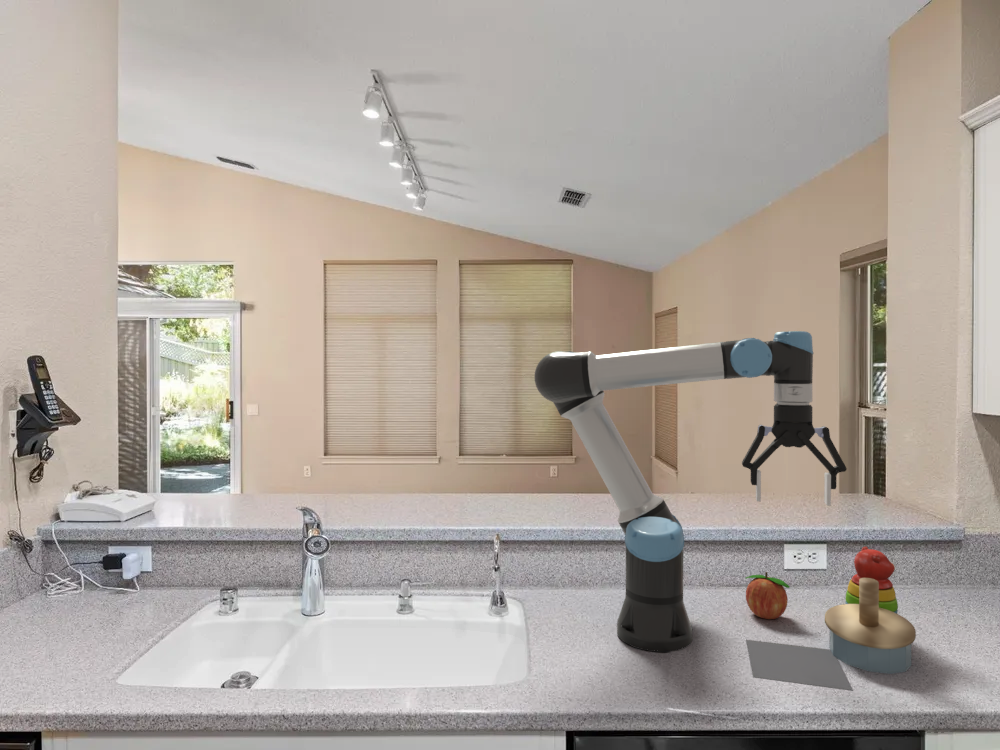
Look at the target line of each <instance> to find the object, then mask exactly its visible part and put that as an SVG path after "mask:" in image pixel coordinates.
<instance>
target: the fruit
mask: <svg viewBox="0 0 1000 750" xmlns="http://www.w3.org/2000/svg"><path fill="white" fill-rule="evenodd" d="M745 579H752V580H751V581H750V582H749V583H748V585H747V587H746V590H745V601H746V604H747V605H748V608H749V610H750V611H751V612H752V614H754V615H755V616H756V617H758V618H760V619H765V620H775V619H778V618H780V617H781V616H782V615H784V613H785V611H786V609H787V607H788V600H789V599H788V594H787V590H786V589H785V588H787V589H790V588H791V587H790V585H789V584H788V583H786V582H785V581H784V580H782V579H779V578H777V577H771V576H768V572H767V571H765V575H764V574H753V575H748V576H746V577H745Z"/></svg>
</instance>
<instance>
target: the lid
mask: <svg viewBox="0 0 1000 750" xmlns="http://www.w3.org/2000/svg"><path fill="white" fill-rule="evenodd" d="M824 613H825V614H824V623H825V625H826V627H827V629H828V630H829V631H830V630H831V631H832V632H833V633H834V634H836V635H838V636H839V637H841V638H843V639H845V640H847V641H850V642H852V643H855V644H859V645H862V646H867V647H872V648H880V649H896V648H902V647H906V646H908V645H910V644H911V645H912V644H913V643H914V642H915V640H916V639H917V638H916V634H917V631H916V630H917V629H916V628H915V626H914V625H913V624H912V622H911V621H910V620H909V619H907V618H906V617H904V616H902V615H901V614H898V613H897V614H896V613H894V612H892V611H889V610H886V609H883V608H879V582H878V581H877V580H875V579H872V578H861V579H859V604H846V603H845V604H838V605H835V606H832V607H830V608H828V609H827V610H826V611H825V612H824Z"/></svg>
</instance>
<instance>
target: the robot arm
mask: <svg viewBox="0 0 1000 750" xmlns="http://www.w3.org/2000/svg"><path fill="white" fill-rule="evenodd" d="M813 347H814V346H813V336H812V334H811V333H810V332H808V331H802V330H801V331H800V330H799V331H798V330H797V331H795V330H794V331H789V330H788V331H777V332H775V333H774V334H773V340H767V341H763V340H762V339H759V338H756V337H747V338H742V339H736V340H727V341H719V342H710V343H700V344H690V345H689V344H688V345H682V346H673V347H665V348H663V347H662V348H654V349H644V350H635V351H625V352H617V353H615V352H614V353H608V354H606V353H605V354H599V355H597V354H595V353H594V352H593V351H582V352H574V351H563V350H562V351H561V350H560V351H559V350H558V351H553V352H550V353H548V354H546V355H545V356H543V357H542V358H541V359H540V361H539V362H538V363H537V365H536V367H535V370H534V383H535V387H536V389H537V391H538V392H539V394H540V395H541V396H542V397H543V398H544V399H546V400H548V401H550V402H552V403H553V405H554V406H555V408H556V410H557V412H558V413H559V415H560V417H561V418H564V419H567V420H569V421H570V422H571V424H572V426H573V428H574V429H575V431H576V433H577V435H578V437H579V439H580V440H581V442H582V445H583V446H584V448H585V450H586V452H587V453H588V455H589V457H590V459H591V461H592V462H593V464H594V467H595V469H596V471H597V472H598V474H599V476H600V478H601V479H602V480H603V483H604V484H605V486H606V488H607V491H608V492H609V494H610V496H611V498H612V499H613V501H614V502H615V505H616V507H617V509H618V510H619V515H618V518H617V522H618V524H619V526H620V528H621V530H622V532H623V533H624V543H625V597H624V601H623V604H622V606H621V609H620V613H619V616H618V618H617V621H616V622H617V623H616V634H617V637H618V638H619V639H620V640H621V641H622V642H624V643H625V644H627V645H629V646H632V647H634V648H637V649H640V650H645V651H651V652H661V653H667V652H669V653H670V652H675V651H680V650H683V649H685V648H687V647H689V646H690V645H691V644H692V642H693V628H692V625H691V622H690V618H689V616H688V615H689V614H688V612H687V609H686V608H687V607H686V606H685V601H684V547H685V534H684V530H683V526H682V524H681V523H680V521H679V520H678V519H677V517H676V516H675V515H674V514H673V513H672V512H671V510H670V509H669V507H668V505H667V503H666V500H664V498H663V497H662V496H659V495H656V494H654V493H653V492H652V489H651V488H650V486H649V484H648V482H647V481H646V479H645V477H644V475H643V473H642V472H641V470H640V468H639V466H638V464H637V462H636V461H635V458H634V457H633V456H632V454H631V452H630V450H629V448H628V447H627V445H626V442H625V441H624V439H623V437H622V435H621V434H620V431H619V430H618V428H617V426H616V425H615V423H614V422H613V421H614V420H613V419H612V418H611V416H610V414H609V411H608V410H607V408H606V407H605V405H604V404H603V403H604V401H603V400H604V398H605V394H606V393H605V392H604V391H612V390H613V391H614V390H624V389H625V390H626V389H632V388H633V389H635V388H645V387H653V386H654V387H655V386H664V385H676V384H686V383H697V382H706V381H707V382H708V381H716V380H729V379H731V380H733V379H742V378H749V379H750V378H757V377H760V376H761V377H762V376H768V377H771V376H773V401H774V402H776V403H774V405H773V424H772V425H771V426H767V425H763V424H759V425H758V426H757V434H756V436H755V438H754V439H753V441H752V443H751V445H750V446H749V448H748V451H747V452H746V454H745V456H744V457H743V459H742V461H741V464H742V467H744V468H747V469H749V471H750V483H751V485H752V486H755V500H756V502H761V501H762V494H761V493H762V492H761V491H762V471H761V469H759V468H760V467H761V466H762V465H763V464H764V463H765V462H766V461H767V460H768V458H770V457H771V456H772V454H773V453H775V452H776V450H778V448H780V447H782V446H783V447H785V448H793V447H794V448H803V447H806V448H807V449H808V450H809V451H810V452H811V453H812V454H813V455H814V456H815V458H816V459H817V460H818V461H819V462H820V463H821V464H822V465H823V466H824V467H825V469H826V470H827V471H828V472H824V477H823V478H824V479H823V480H824V481H823V482H824V483H823V484H824V494H823V497H824V498H823V499H824V500H823V501H824V502H823V503H824V504H825V505H826V506H829V507H830V506H831V507H832V502H831V501H832V490H836V489H837V475H838V474H839V473H844V472H846V471H847V469H848V468H847V466H846V465H845V463H844V461H843V459H842V456H841V455H840V453H839V451H838V450H837V448H836V446H835V444H834V442H833V441H832V438H831V434H830V433H831V432H830V429H829V427H827V426H824V425H823V426H821V427H814V425H813V406H812V404H810V403H812V402H813V368H814V367H813V366H814V365H813V362H814V357H813V356H814V349H813ZM770 433H772V435H773V436H774V437H775V438H774V439H773V440H772V441H771V443H770V444H769V445H768V446H767V447H766V449H764V450H763V451H762V453H761V454H759V456H758V457H757V458H755V460H754V461H753V462H751V461H752V460H753V459H754V456H755V455H756V453H757V450H759V447H760V445H761V443H762V442H763V440H764V438H765V437H767V436H768V434H770ZM815 434H816V435H817V436H818V437H819V438H820V439H821V440H822V441H823V443H824V445H825V446H826V448H827V450H828V452H829V454H830V456H831V458H832V460H833V462H834V464H835V465H833V464H832V463H831V462H830V461H829V460H828V458H826V457H825V456H824V455H823V453H822V452H821V451H820V450H819V449H818V448H817V447H816V446H815V444H814V443H813V442H812V441H811V439H812V437H814V435H815Z"/></svg>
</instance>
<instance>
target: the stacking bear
mask: <svg viewBox="0 0 1000 750" xmlns="http://www.w3.org/2000/svg"><path fill="white" fill-rule="evenodd" d="M853 562H854V568H855V571H856V574H854V575H853V576H852V577H851V579H850V580H849V582H848V585H847V589H846V592H845V604H859V579H861V578H872V579H875V580H877V581H878V582H879V608H883V609H886V610H889V611H892V612H894V613H896V614H898V612H899V611H898V609H899V606H898V599H897V596H896V595H897V594H896V591H895V588H894V584H893V582H892V581H891V580H890V579H889V578H890V577H892V575H893V574H894V573H895V569H896V567H895V565H894V563H893V562H891V561H890V560H889V558H888V557H887V555H885V554H884V553H883V552H881V551H880V550H877V549H871V548H870V549H869V548H868V546H863V547H862V548H861V550H860V551H858V552H857V554H856V555H855V557H854V559H853Z"/></svg>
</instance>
